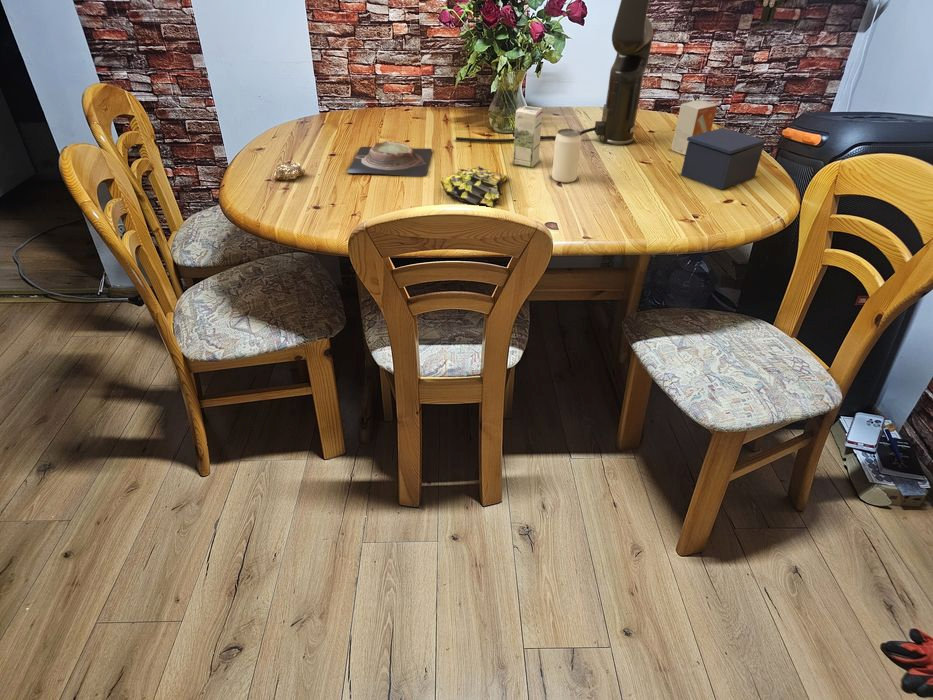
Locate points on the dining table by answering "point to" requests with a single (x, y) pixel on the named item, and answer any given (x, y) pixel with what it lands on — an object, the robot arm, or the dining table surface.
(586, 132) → the robot arm
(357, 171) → the quiche
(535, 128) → the syrup box
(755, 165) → the case
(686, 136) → the small box
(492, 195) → the banana patterned fabric
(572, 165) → the can
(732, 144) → the case lid
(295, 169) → the beige lumpy piece
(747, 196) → the dining table surface
